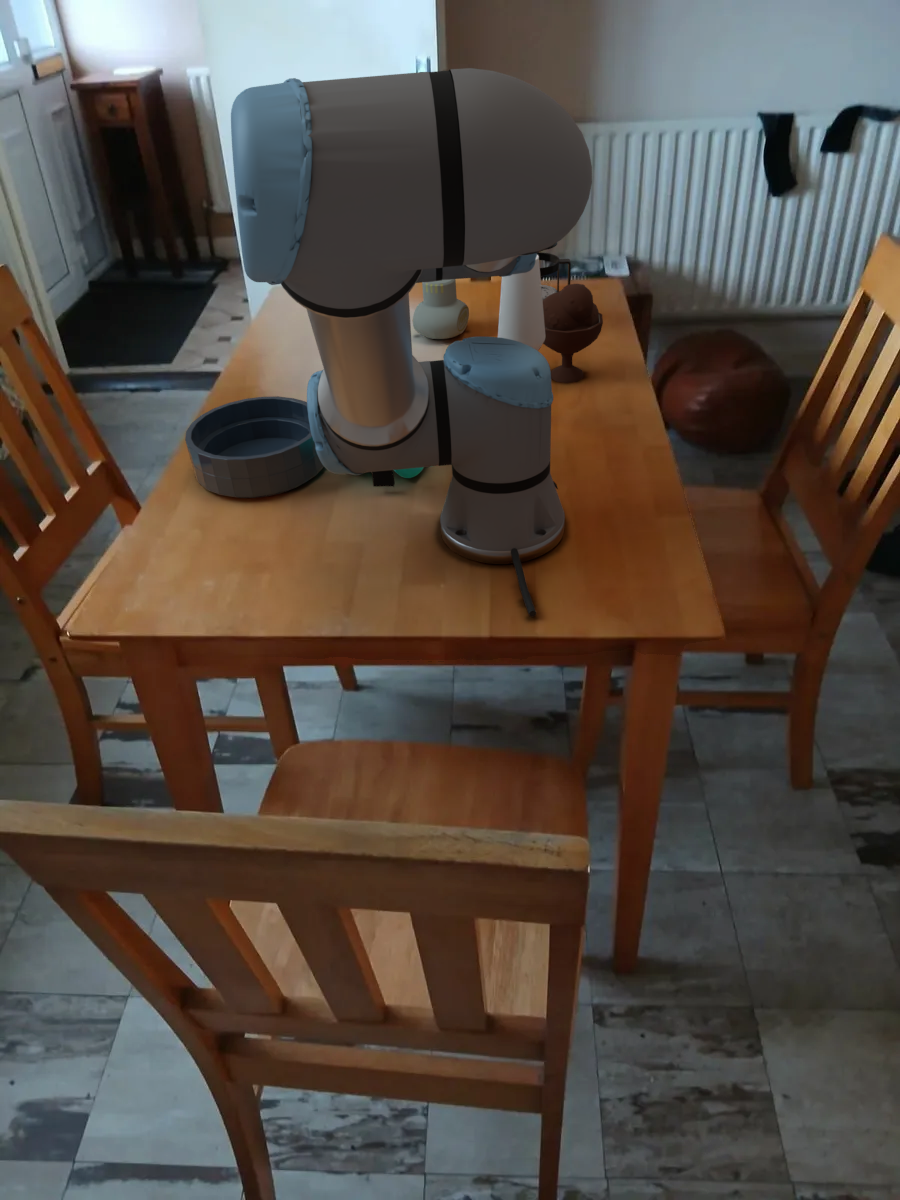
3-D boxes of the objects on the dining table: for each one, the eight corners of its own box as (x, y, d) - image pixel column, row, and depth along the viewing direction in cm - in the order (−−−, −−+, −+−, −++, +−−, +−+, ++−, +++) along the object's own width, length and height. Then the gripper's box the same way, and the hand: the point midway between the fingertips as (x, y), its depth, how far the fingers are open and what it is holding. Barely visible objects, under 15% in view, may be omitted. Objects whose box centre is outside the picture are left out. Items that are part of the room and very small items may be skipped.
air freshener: (454, 347, 157) (451, 290, 151) (410, 344, 159) (405, 287, 153) (472, 324, 165) (470, 269, 159) (430, 321, 167) (426, 267, 161)
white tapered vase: (532, 407, 137) (532, 246, 122) (552, 425, 132) (555, 259, 117) (492, 417, 135) (487, 255, 120) (511, 436, 130) (508, 268, 115)
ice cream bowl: (598, 361, 149) (603, 270, 140) (600, 390, 140) (605, 295, 131) (534, 361, 150) (535, 271, 141) (533, 390, 142) (533, 296, 132)
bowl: (314, 502, 119) (306, 458, 115) (178, 502, 120) (166, 460, 116) (338, 435, 133) (332, 395, 129) (217, 437, 135) (208, 397, 131)
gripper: (358, 275, 120) (375, 423, 133) (324, 345, 101) (348, 508, 115) (413, 273, 119) (425, 422, 132) (390, 343, 100) (406, 508, 114)
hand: (389, 462), depth 124 cm, fingers closed on donuts, 11 cm apart
